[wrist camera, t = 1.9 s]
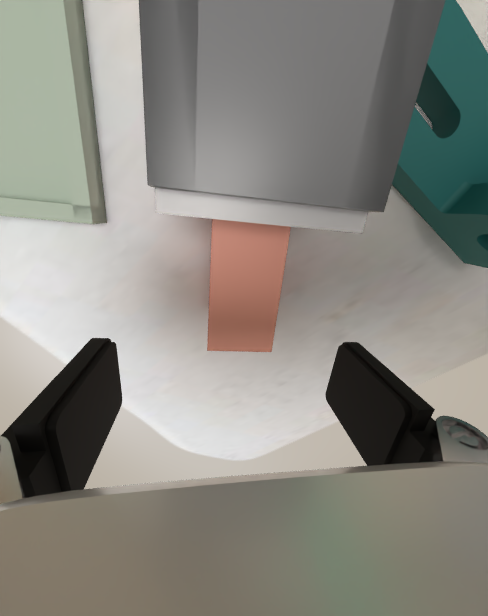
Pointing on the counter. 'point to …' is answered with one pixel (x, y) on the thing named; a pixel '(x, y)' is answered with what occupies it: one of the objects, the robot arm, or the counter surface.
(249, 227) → the terracotta pink bar
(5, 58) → the tray
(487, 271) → the counter surface
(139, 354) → the counter surface
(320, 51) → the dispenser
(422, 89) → the bracket
